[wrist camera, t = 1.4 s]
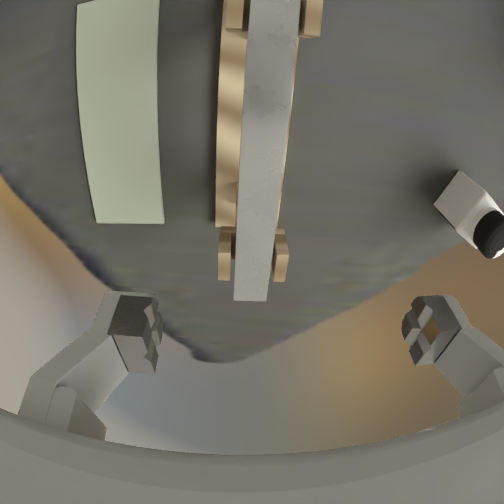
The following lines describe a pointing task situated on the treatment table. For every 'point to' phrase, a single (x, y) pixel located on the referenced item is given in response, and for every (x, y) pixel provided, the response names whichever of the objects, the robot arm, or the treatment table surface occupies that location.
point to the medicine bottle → (473, 215)
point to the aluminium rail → (263, 140)
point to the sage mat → (120, 108)
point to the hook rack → (231, 126)
